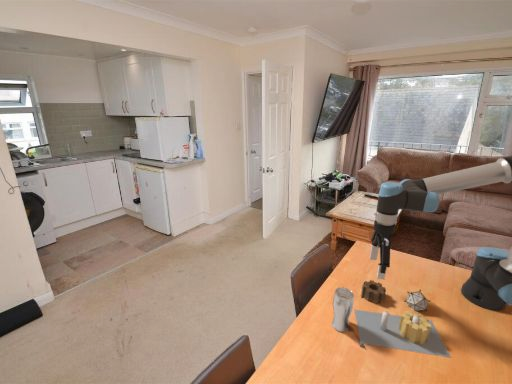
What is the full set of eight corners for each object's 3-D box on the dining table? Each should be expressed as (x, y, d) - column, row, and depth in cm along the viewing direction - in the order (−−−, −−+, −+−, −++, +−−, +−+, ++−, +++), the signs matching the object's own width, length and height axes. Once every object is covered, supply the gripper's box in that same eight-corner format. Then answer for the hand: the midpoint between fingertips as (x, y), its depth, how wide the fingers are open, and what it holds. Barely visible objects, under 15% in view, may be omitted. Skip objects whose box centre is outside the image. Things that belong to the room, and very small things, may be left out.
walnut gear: (380, 293, 118) (382, 281, 116) (386, 307, 109) (388, 295, 107) (359, 290, 119) (361, 279, 117) (363, 304, 111) (364, 292, 109)
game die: (418, 319, 108) (436, 314, 100) (399, 310, 109) (415, 304, 101) (418, 298, 114) (435, 291, 106) (399, 289, 114) (415, 282, 106)
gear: (414, 321, 100) (417, 309, 98) (433, 341, 92) (437, 328, 90) (393, 325, 99) (395, 312, 97) (411, 346, 90) (414, 332, 88)
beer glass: (337, 335, 96) (341, 301, 92) (327, 320, 103) (330, 288, 98) (353, 330, 98) (358, 297, 93) (343, 317, 105) (347, 285, 100)
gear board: (430, 323, 101) (435, 305, 99) (450, 361, 87) (456, 341, 84) (353, 312, 107) (356, 295, 104) (360, 346, 92) (363, 327, 89)
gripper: (368, 209, 115) (361, 251, 122) (382, 235, 92) (373, 286, 99) (387, 210, 114) (379, 253, 121) (406, 238, 91) (395, 289, 97)
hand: (376, 268), depth 110 cm, fingers open, 13 cm apart
